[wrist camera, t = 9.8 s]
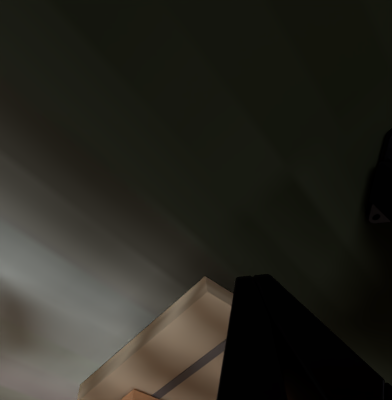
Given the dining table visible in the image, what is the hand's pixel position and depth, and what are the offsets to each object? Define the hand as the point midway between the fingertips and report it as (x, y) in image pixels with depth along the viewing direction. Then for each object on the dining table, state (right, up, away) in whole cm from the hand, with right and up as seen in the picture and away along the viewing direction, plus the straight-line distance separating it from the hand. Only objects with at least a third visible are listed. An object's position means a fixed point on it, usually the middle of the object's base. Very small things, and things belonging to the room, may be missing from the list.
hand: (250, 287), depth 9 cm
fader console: (-2, -11, +21) cm, 24 cm away
